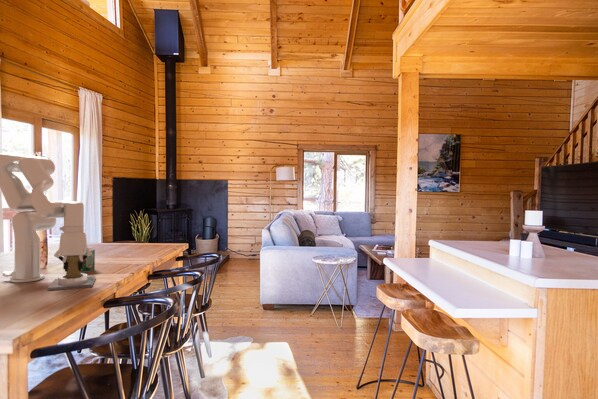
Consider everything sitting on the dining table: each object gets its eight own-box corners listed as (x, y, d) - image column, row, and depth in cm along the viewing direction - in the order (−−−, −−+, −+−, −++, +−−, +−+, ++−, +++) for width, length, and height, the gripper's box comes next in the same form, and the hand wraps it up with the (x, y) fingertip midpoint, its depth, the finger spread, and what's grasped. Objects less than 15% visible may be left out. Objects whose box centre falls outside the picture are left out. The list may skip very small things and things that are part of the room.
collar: (47, 290, 147) (47, 281, 147) (55, 281, 161) (55, 273, 161) (91, 287, 154) (91, 278, 154) (95, 278, 168) (95, 270, 168)
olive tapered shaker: (84, 277, 161) (84, 253, 160) (76, 280, 155) (76, 255, 154) (70, 277, 160) (70, 252, 160) (62, 280, 154) (62, 255, 154)
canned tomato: (97, 269, 188) (98, 248, 187) (88, 272, 180) (88, 251, 180) (83, 268, 188) (83, 248, 188) (73, 272, 180) (73, 250, 180)
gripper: (48, 231, 150) (48, 273, 150) (94, 230, 157) (94, 270, 158) (52, 229, 157) (52, 270, 157) (96, 228, 164) (96, 267, 164)
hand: (73, 270), depth 157 cm, fingers closed on olive tapered shaker, 4 cm apart
